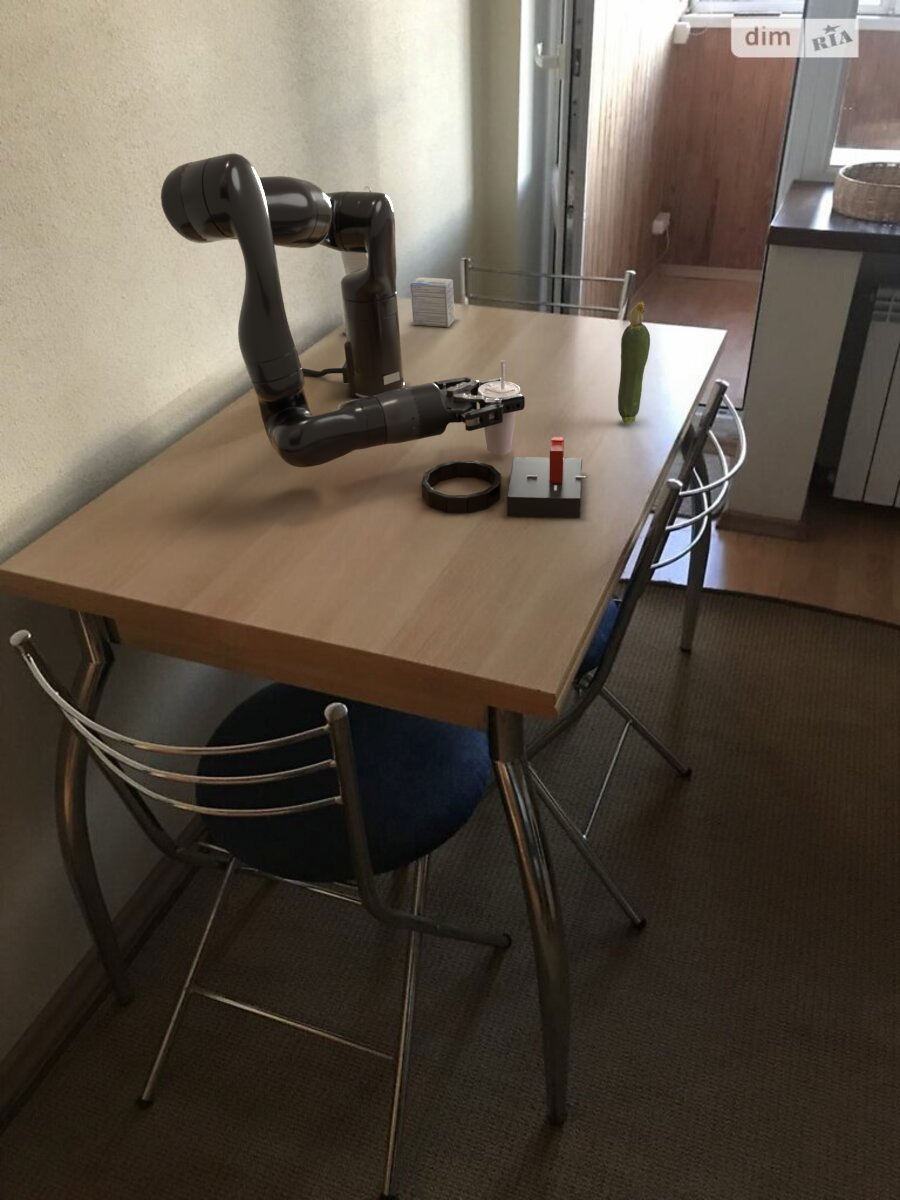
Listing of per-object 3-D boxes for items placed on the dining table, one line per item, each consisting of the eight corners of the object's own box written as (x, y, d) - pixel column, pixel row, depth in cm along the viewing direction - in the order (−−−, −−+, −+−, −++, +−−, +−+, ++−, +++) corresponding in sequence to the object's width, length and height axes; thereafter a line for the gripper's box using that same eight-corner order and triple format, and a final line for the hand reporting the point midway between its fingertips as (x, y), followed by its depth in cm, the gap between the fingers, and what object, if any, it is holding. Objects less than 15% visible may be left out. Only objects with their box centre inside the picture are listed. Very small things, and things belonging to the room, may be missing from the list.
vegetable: (613, 417, 156) (620, 295, 145) (640, 415, 156) (649, 293, 145) (620, 428, 152) (627, 304, 141) (646, 426, 153) (656, 302, 141)
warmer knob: (562, 483, 132) (563, 449, 129) (549, 483, 132) (549, 449, 129) (563, 470, 135) (564, 436, 132) (550, 470, 136) (551, 436, 133)
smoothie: (517, 459, 142) (517, 370, 134) (474, 456, 144) (473, 368, 136) (522, 440, 148) (523, 353, 140) (482, 438, 149) (480, 351, 141)
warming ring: (417, 512, 134) (416, 496, 132) (429, 474, 143) (428, 459, 141) (497, 514, 132) (496, 498, 131) (504, 476, 141) (503, 461, 140)
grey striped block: (455, 320, 198) (453, 278, 193) (448, 328, 195) (446, 285, 190) (420, 318, 200) (417, 276, 195) (412, 325, 197) (409, 283, 192)
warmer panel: (507, 515, 132) (506, 495, 130) (513, 475, 141) (513, 455, 140) (584, 517, 130) (585, 497, 128) (585, 476, 140) (586, 457, 138)
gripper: (424, 408, 129) (535, 385, 134) (389, 372, 140) (492, 353, 145) (427, 458, 133) (534, 434, 138) (393, 419, 144) (493, 399, 149)
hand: (512, 393), depth 141 cm, fingers closed on smoothie, 6 cm apart
